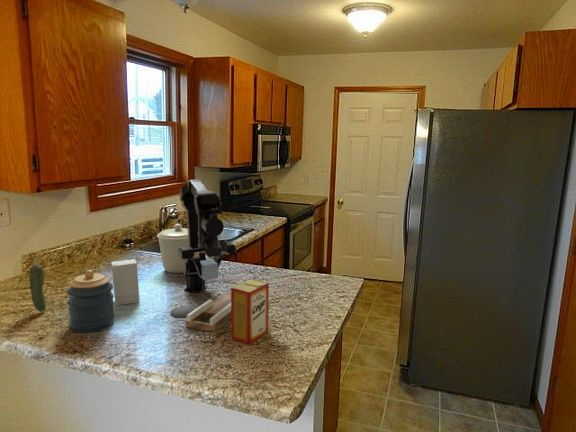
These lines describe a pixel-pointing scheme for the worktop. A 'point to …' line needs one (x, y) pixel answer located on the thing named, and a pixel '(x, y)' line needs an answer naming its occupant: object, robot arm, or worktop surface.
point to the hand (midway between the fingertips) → (207, 274)
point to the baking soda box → (249, 311)
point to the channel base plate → (211, 315)
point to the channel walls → (205, 307)
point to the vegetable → (37, 284)
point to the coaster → (181, 311)
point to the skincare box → (125, 282)
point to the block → (209, 269)
